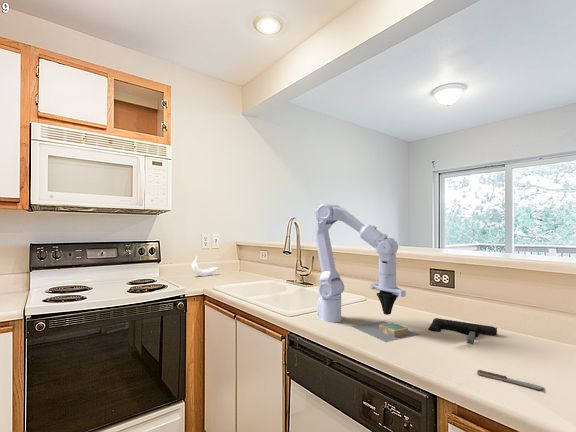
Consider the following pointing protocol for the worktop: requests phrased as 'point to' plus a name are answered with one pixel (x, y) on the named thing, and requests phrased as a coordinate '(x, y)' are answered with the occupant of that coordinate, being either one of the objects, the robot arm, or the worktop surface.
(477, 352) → the worktop surface
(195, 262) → the banana
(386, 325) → the wooden block
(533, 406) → the worktop surface
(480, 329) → the black toy gun
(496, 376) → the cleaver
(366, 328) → the mat
